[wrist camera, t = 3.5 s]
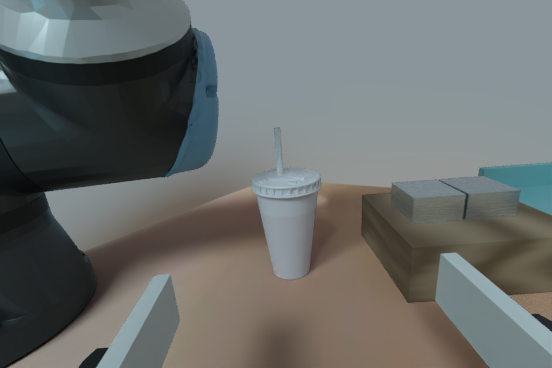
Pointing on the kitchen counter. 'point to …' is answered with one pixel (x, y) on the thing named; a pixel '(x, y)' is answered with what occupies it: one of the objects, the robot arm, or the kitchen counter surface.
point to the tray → (526, 182)
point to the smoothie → (287, 214)
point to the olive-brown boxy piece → (460, 248)
